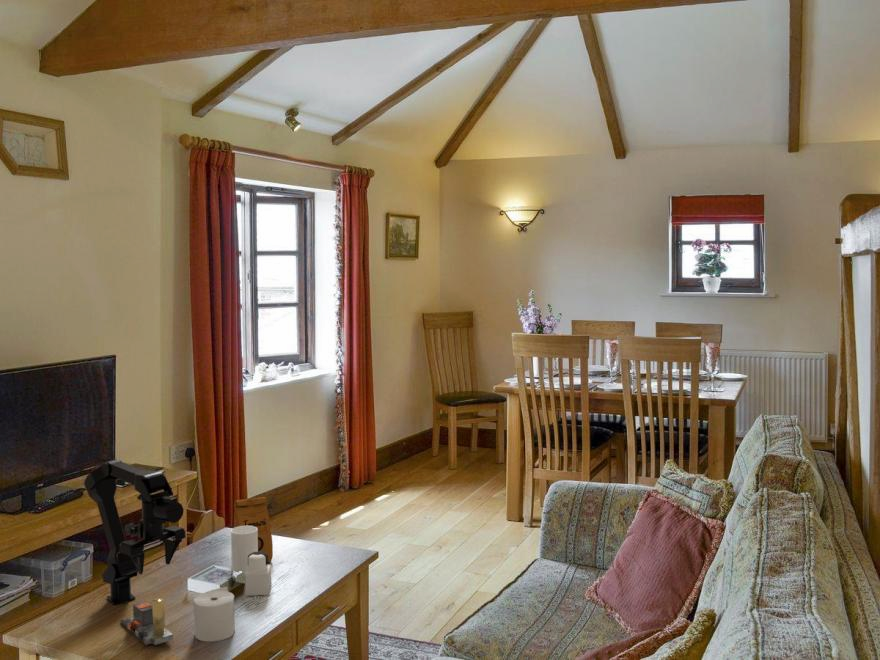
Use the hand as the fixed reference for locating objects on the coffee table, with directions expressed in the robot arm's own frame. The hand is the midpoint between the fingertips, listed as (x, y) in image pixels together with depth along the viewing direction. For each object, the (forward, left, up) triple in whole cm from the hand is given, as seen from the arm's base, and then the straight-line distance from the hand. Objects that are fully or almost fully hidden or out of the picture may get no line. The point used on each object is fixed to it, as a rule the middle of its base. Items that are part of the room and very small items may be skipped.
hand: (154, 568), depth 243 cm
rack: (+14, -8, -12) cm, 20 cm away
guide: (+9, -7, -13) cm, 18 cm away
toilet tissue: (+23, +7, -13) cm, 27 cm away
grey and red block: (+9, -7, -10) cm, 15 cm away
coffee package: (-17, +41, -13) cm, 46 cm away
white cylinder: (-6, +32, -13) cm, 35 cm away
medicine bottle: (+6, +30, -13) cm, 33 cm away
